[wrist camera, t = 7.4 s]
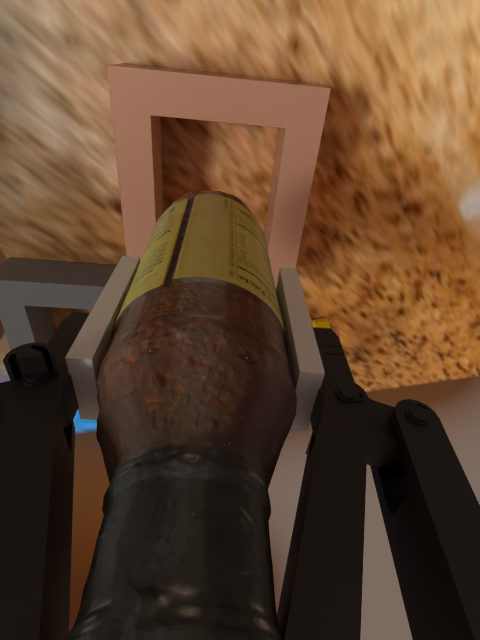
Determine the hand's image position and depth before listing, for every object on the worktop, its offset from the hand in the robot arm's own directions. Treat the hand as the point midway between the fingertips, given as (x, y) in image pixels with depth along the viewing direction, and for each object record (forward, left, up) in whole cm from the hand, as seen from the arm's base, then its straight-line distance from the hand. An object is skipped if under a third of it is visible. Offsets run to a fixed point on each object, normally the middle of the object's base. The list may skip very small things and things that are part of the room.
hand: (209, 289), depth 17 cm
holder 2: (0, 0, -17) cm, 17 cm away
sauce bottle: (0, 0, -6) cm, 6 cm away
